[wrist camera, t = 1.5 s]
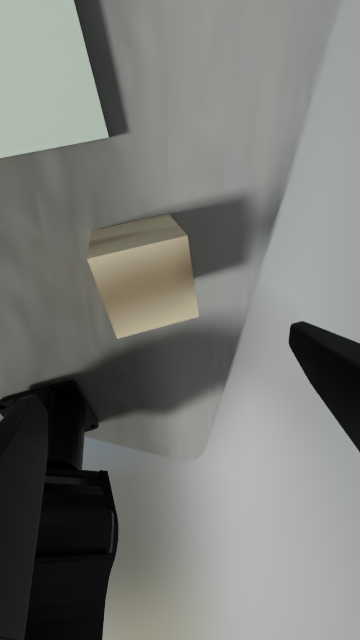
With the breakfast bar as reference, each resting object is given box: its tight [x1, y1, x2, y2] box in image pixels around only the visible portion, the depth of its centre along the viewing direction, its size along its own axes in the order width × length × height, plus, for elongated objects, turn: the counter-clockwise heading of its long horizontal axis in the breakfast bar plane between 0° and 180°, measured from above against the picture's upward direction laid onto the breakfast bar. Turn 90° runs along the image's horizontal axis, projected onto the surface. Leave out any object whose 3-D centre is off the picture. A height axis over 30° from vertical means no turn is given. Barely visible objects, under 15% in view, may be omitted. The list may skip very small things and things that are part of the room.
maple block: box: [87, 214, 199, 339], centre depth 17 cm, size 5×5×5 cm
